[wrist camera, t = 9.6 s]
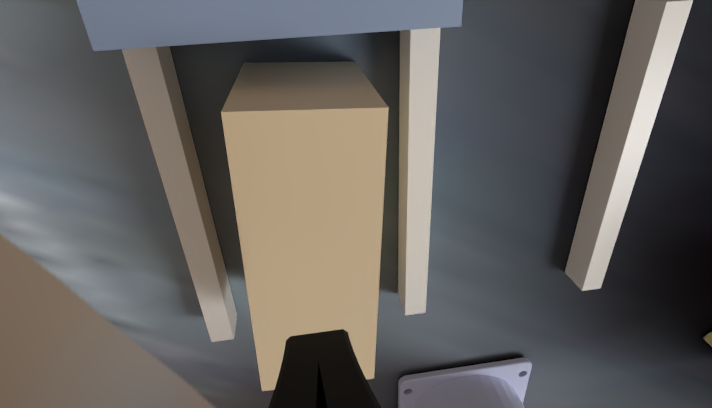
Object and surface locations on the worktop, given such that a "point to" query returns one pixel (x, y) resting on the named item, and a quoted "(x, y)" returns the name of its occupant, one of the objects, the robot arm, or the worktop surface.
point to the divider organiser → (416, 117)
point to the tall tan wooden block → (308, 202)
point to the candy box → (708, 338)
